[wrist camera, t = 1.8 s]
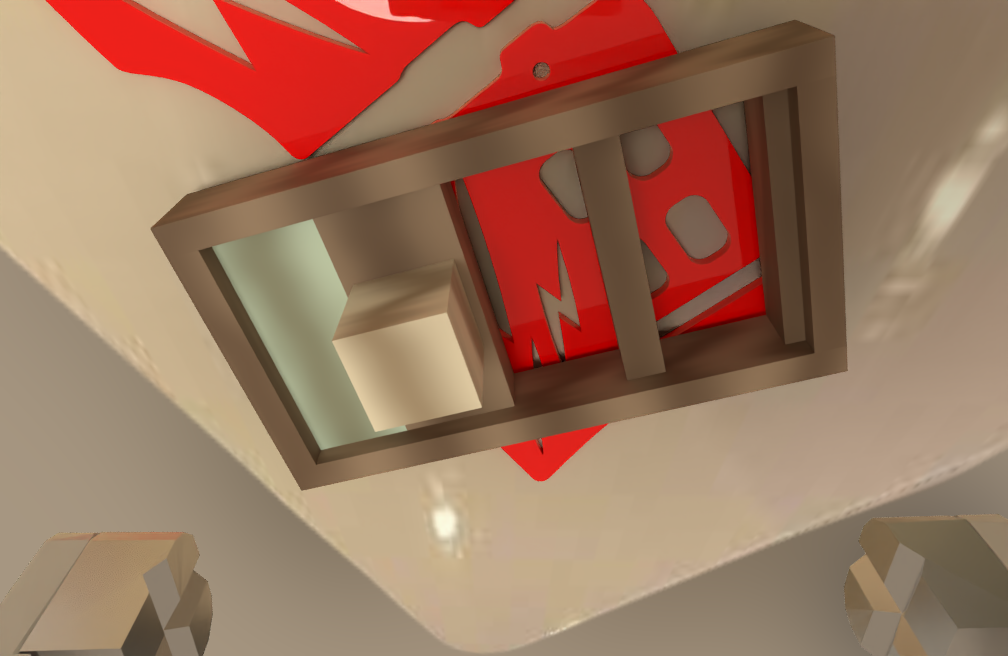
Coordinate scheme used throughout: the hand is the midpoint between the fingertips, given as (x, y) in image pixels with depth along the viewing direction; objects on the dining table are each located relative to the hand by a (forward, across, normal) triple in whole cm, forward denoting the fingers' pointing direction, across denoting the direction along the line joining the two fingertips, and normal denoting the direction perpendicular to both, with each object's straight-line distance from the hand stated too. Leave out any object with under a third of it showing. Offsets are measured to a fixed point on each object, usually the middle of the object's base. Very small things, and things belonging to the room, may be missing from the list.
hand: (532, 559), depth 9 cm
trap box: (+27, -1, +8) cm, 28 cm away
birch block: (+24, +4, +10) cm, 26 cm away
